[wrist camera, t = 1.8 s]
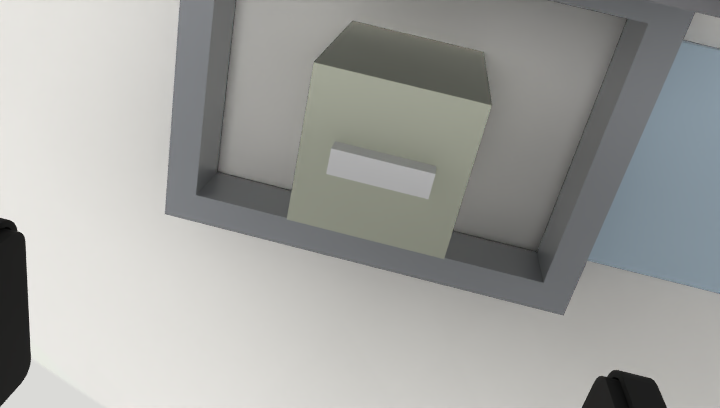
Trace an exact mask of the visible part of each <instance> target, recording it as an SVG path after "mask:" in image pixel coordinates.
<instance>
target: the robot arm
mask: <svg viewBox="0 0 720 408" xmlns="http://www.w3.org/2000/svg"><path fill="white" fill-rule="evenodd" d="M30 362H31V352H30V331H29V310H28V288H27V267H26V246H25V237H24V235H23V234H22V233H20V232H17V227H16V225H15V224H14V222H12V221H10V220H7V219H3V218H0V406H1V405H2V404H3V403H4V402H5V400H7V398H8V397H9V396H10V395H11V394H12V393H13V392H14V391H15V389H16V388H17V387H18V386H19V385H20V384H21V383H22V381H23V380H24V378H25V377H26V375H27V372H28V370H29V367H30ZM582 408H667V407H666V405H665V402H664V400H663V398H662V395H661V393H660V391H659V388H658V386H657V384H656V383H655V381H654V380H652V379H651V378H647V377H643V376H639V375H635V374H631V373H627V372H623V371H619V370H613V371H612V372H611V373H610V374H609V375H608V377H604V376H599V377H598V378H597V379H596V380H595V382H594V384H593V386H592V388H591V390H590V392H589V394H588V396H587V398H586V400H585V402H584V404H583V406H582Z"/></svg>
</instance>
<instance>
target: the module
mask: <svg viewBox="0 0 720 408" xmlns="http://www.w3.org/2000/svg"><path fill="white" fill-rule="evenodd" d="M491 107H492V103H491V96H490V90H489V84H488V77H487V71H486V65H485V58H484V52H481V51H477V50H473V49H469V48H464V47H460V46H456V45H452V44H448V43H443V42H439V41H435V40H431V39H427V38H422V37H418V36H414V35H410V34H406V33H401V32H397V31H393V30H389V29H385V28H380V27H376V26H372V25H368V24H364V23H360V22H355V21H352V22H351V23H350V24H349V25H348V26H347V28H346V29H345V30H344V31H343V32H342V33H341V34H340V35H339V36H338V37H337V38H336V39H335V40H334V41H333V42H332V43H331V44H330V46H329V47H328V48H327V49H326V50H325V51H324V52H323V53H322V54H321V55H320V56H319V57H318V58H317V59H316V60H315V61H314V63H313V69H312V75H311V81H310V86H309V92H308V98H307V104H306V110H305V116H304V121H303V127H302V133H301V139H300V145H299V151H298V156H297V162H296V168H295V174H294V180H293V186H292V191H291V197H290V203H289V209H288V215H287V220H291V221H295V222H299V223H303V224H307V225H311V226H315V227H319V228H323V229H327V230H331V231H335V232H339V233H343V234H347V235H350V236H354V237H358V238H362V239H366V240H370V241H374V242H378V243H382V244H386V245H390V246H394V247H398V248H402V249H406V250H410V251H414V252H418V253H422V254H426V255H430V256H434V257H438V258H441V259H444V258H445V254H446V251H447V248H448V245H449V242H450V238H451V235H452V232H453V229H454V226H455V222H456V219H457V216H458V213H459V209H460V206H461V203H462V200H463V197H464V193H465V190H466V187H467V184H468V181H469V177H470V174H471V171H472V168H473V165H474V161H475V158H476V155H477V152H478V149H479V145H480V142H481V139H482V136H483V132H484V129H485V126H486V123H487V120H488V116H489V113H490V110H491Z"/></svg>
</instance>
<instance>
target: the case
mask: <svg viewBox="0 0 720 408" xmlns="http://www.w3.org/2000/svg"><path fill="white" fill-rule="evenodd" d="M550 1H554V2H558V3H562V4H567V5H571V6H575V7H580V8H584V9H588V10H592V11H597V12H601V13H605V14H609V15H614V16H618V17H622V18H627V22H626V24H625V27H624V29H623V32H622V34H621V37H620V40H619V42H618V45H617V47H616V50H615V52H614V55H613V58H612V60H611V63H610V65H609V68H608V70H607V73H606V76H605V78H604V81H603V83H602V86H601V88H600V91H599V94H598V96H597V99H596V101H595V104H594V106H593V109H592V112H591V114H590V117H589V119H588V122H587V125H586V127H585V130H584V132H583V135H582V137H581V140H580V143H579V145H578V148H577V150H576V153H575V155H574V158H573V161H572V163H571V166H570V168H569V171H568V173H567V176H566V179H565V181H564V184H563V186H562V189H561V191H560V194H559V197H558V199H557V202H556V204H555V207H554V209H553V212H552V215H551V217H550V220H549V222H548V225H547V227H546V230H545V233H544V235H543V238H542V240H541V243H540V245H539V248H538V251H537V252H534V251H530V250H526V249H522V248H518V247H514V246H510V245H506V244H502V243H498V242H494V241H490V240H486V239H482V238H478V237H474V236H470V235H466V234H462V233H458V232H454V231H453V232H452V235H451V238H450V242H449V245H448V248H447V251H446V254H445V258H444V259H441V258H438V257H434V256H430V255H426V254H422V253H418V252H414V251H410V250H406V249H402V248H398V247H394V246H390V245H386V244H382V243H378V242H374V241H370V240H366V239H362V238H358V237H354V236H350V235H347V234H343V233H339V232H335V231H331V230H327V229H323V228H319V227H315V226H311V225H307V224H303V223H299V222H295V221H291V220H287V215H288V209H289V203H290V197H291V190H287V189H283V188H279V187H275V186H271V185H267V184H263V183H259V182H255V181H251V180H247V179H243V178H239V177H235V176H231V175H227V174H223V173H219V172H217V168H218V159H219V150H220V141H221V131H222V122H223V113H224V104H225V95H226V86H227V77H228V67H229V58H230V49H231V40H232V31H233V22H234V13H235V4H236V0H180V8H179V23H178V37H177V51H176V65H175V79H174V94H173V108H172V122H171V136H170V150H169V165H168V179H167V193H166V207H165V214H167V215H171V216H175V217H179V218H183V219H187V220H191V221H195V222H199V223H203V224H206V225H210V226H214V227H218V228H222V229H226V230H230V231H234V232H238V233H242V234H246V235H250V236H254V237H258V238H261V239H265V240H269V241H273V242H277V243H281V244H285V245H289V246H293V247H297V248H301V249H305V250H309V251H313V252H317V253H320V254H324V255H328V256H332V257H336V258H340V259H344V260H348V261H352V262H356V263H360V264H364V265H368V266H372V267H375V268H379V269H383V270H387V271H391V272H395V273H399V274H403V275H407V276H411V277H415V278H419V279H423V280H427V281H430V282H434V283H438V284H442V285H446V286H450V287H454V288H458V289H462V290H466V291H470V292H474V293H478V294H482V295H485V296H489V297H493V298H497V299H501V300H505V301H509V302H513V303H517V304H521V305H525V306H529V307H533V308H537V309H541V310H544V311H548V312H552V313H556V314H560V315H564V313H565V311H566V308H567V306H568V304H569V301H570V299H571V297H572V294H573V292H574V290H575V288H576V285H577V283H578V281H579V278H580V276H581V274H582V271H583V269H584V267H585V265H586V262H587V260H588V258H589V255H590V253H591V251H592V248H593V246H594V244H595V242H596V239H597V237H598V235H599V232H600V230H601V228H602V225H603V223H604V221H605V218H606V216H607V214H608V212H609V209H610V207H611V205H612V202H613V200H614V198H615V195H616V193H617V191H618V189H619V186H620V184H621V182H622V179H623V177H624V175H625V172H626V170H627V168H628V166H629V163H630V161H631V159H632V156H633V154H634V152H635V149H636V147H637V145H638V143H639V140H640V138H641V136H642V133H643V131H644V129H645V126H646V124H647V122H648V119H649V117H650V115H651V113H652V110H653V108H654V106H655V103H656V101H657V99H658V96H659V94H660V92H661V90H662V87H663V85H664V83H665V80H666V78H667V76H668V73H669V71H670V69H671V67H672V64H673V62H674V60H675V57H676V55H677V53H678V50H679V48H680V46H681V44H682V41H683V39H684V37H685V34H686V32H687V30H688V27H689V25H690V23H691V20H692V18H693V16H694V14H695V12H698V13H702V14H706V15H711V16H715V17H719V18H720V0H550Z"/></svg>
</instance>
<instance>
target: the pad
mask: <svg viewBox="0 0 720 408" xmlns="http://www.w3.org/2000/svg"><path fill="white" fill-rule="evenodd" d="M587 261H591V262H595V263H599V264H603V265H607V266H611V267H615V268H619V269H623V270H627V271H631V272H635V273H639V274H643V275H647V276H651V277H655V278H659V279H663V280H667V281H671V282H675V283H679V284H683V285H687V286H691V287H695V288H699V289H703V290H707V291H711V292H715V293H719V294H720V49H719V48H714V47H710V46H706V45H702V44H697V43H693V42H689V41H685V40H683V41H682V44H681V46H680V48H679V50H678V53H677V55H676V57H675V60H674V62H673V64H672V67H671V69H670V71H669V73H668V76H667V78H666V80H665V83H664V85H663V87H662V90H661V92H660V94H659V96H658V99H657V101H656V103H655V106H654V108H653V110H652V113H651V115H650V117H649V119H648V122H647V124H646V126H645V129H644V131H643V133H642V136H641V138H640V140H639V143H638V145H637V147H636V149H635V152H634V154H633V156H632V159H631V161H630V163H629V166H628V168H627V170H626V172H625V175H624V177H623V179H622V182H621V184H620V186H619V189H618V191H617V193H616V195H615V198H614V200H613V202H612V205H611V207H610V209H609V212H608V214H607V216H606V218H605V221H604V223H603V225H602V228H601V230H600V232H599V235H598V237H597V239H596V242H595V244H594V246H593V248H592V251H591V253H590V255H589V258H588V260H587Z"/></svg>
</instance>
